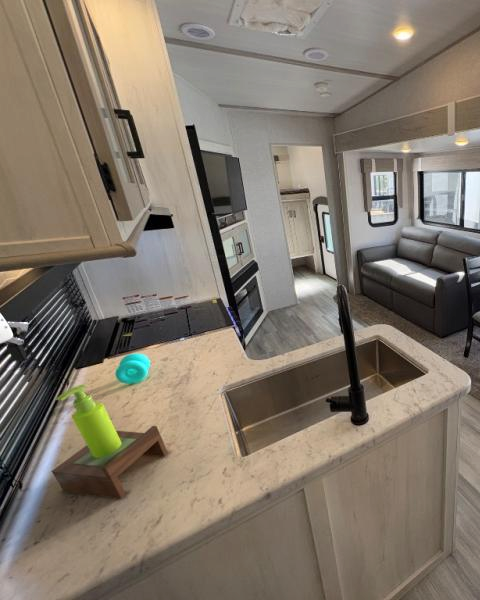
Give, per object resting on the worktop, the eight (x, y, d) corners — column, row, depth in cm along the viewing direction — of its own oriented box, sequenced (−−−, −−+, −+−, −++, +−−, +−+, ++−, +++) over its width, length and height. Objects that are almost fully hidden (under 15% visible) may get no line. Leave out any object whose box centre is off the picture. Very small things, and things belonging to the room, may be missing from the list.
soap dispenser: (82, 459, 81) (47, 396, 74) (111, 439, 87) (81, 379, 80) (99, 462, 79) (65, 399, 72) (127, 442, 85) (98, 381, 78)
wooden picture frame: (63, 491, 80) (45, 462, 77) (117, 448, 93) (103, 421, 90) (121, 498, 78) (105, 468, 74) (168, 453, 90) (156, 425, 87)
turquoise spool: (153, 369, 136) (146, 349, 132) (150, 380, 128) (142, 359, 124) (125, 377, 131) (116, 356, 128) (120, 388, 123) (110, 367, 119)
